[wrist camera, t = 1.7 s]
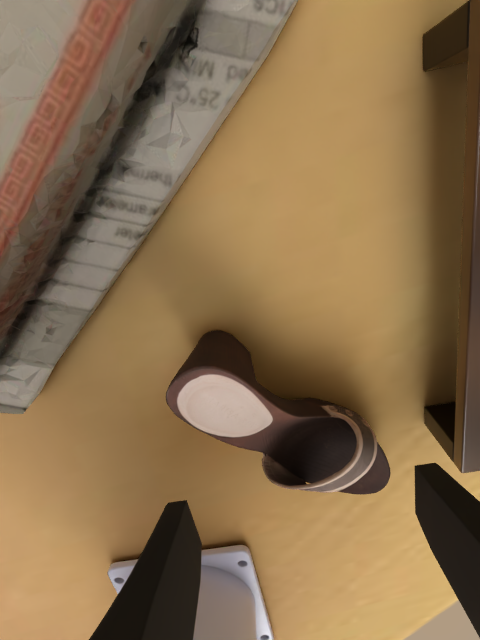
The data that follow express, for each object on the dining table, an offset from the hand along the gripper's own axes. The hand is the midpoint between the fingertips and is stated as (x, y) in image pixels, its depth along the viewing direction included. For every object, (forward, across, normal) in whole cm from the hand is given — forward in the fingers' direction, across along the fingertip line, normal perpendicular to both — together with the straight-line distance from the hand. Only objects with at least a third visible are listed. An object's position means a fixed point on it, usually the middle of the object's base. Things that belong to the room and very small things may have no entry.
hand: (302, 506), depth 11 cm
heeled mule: (+6, 0, 0) cm, 6 cm away
